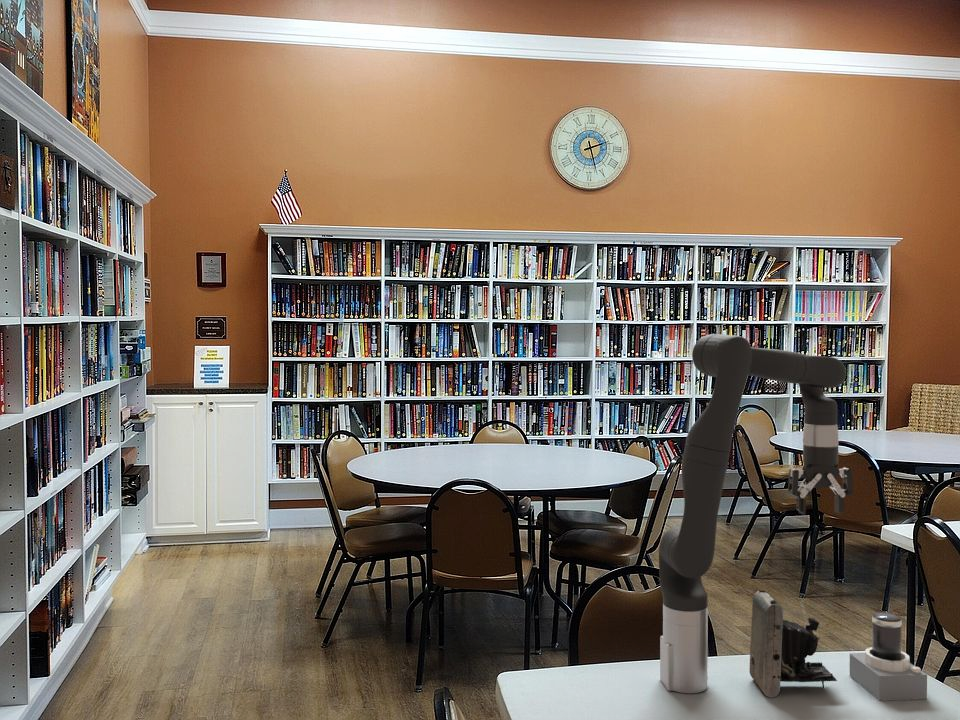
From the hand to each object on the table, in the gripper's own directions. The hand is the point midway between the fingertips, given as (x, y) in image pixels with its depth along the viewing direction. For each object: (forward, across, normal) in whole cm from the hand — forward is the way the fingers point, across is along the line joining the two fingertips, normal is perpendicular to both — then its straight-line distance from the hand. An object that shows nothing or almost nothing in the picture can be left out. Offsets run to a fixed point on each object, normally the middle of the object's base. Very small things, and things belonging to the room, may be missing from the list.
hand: (820, 513), depth 189 cm
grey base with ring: (+33, +6, -18) cm, 38 cm away
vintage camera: (+33, -14, -17) cm, 40 cm away
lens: (+28, +6, -18) cm, 34 cm away
